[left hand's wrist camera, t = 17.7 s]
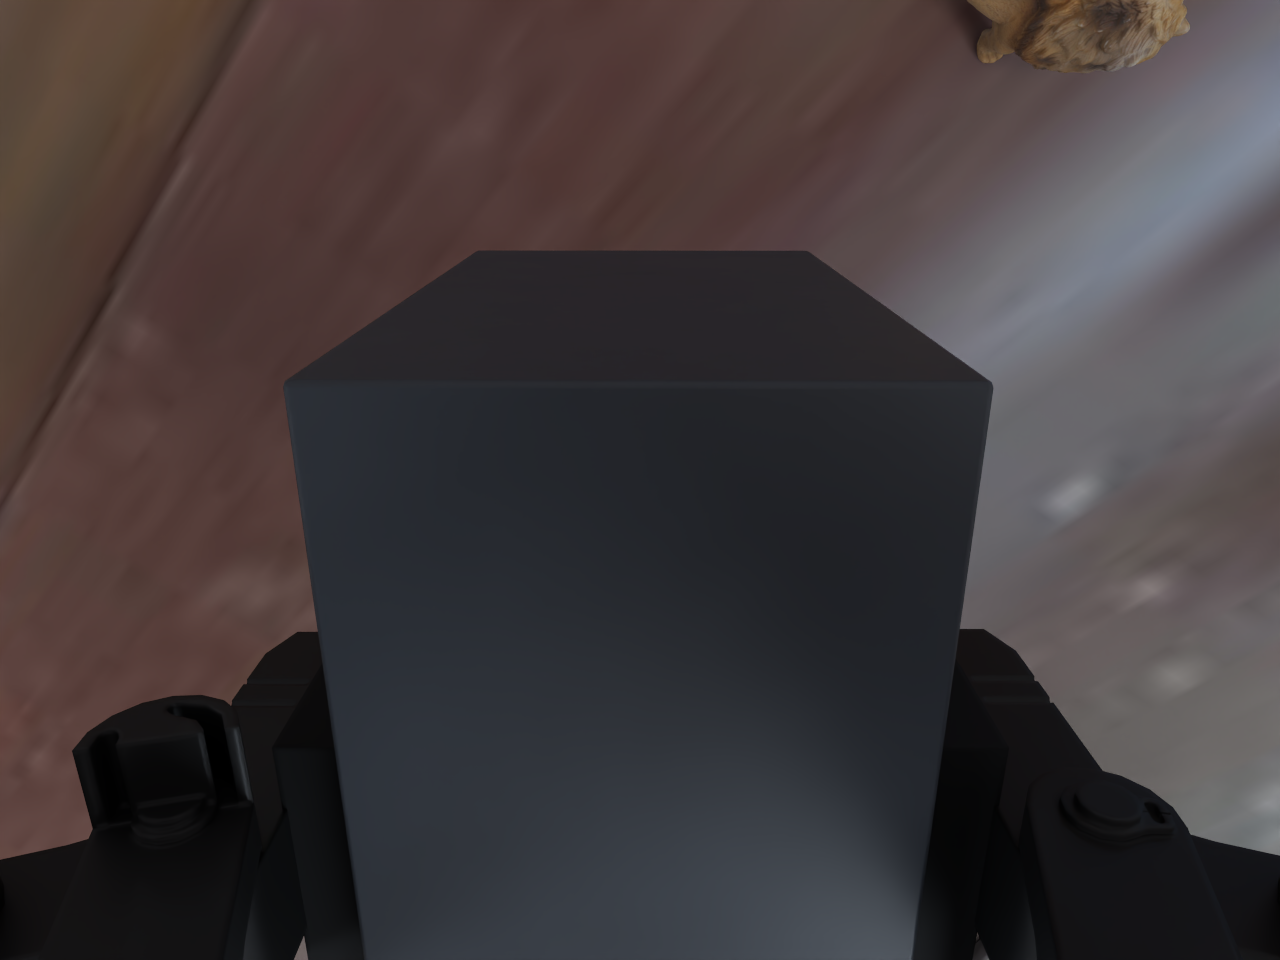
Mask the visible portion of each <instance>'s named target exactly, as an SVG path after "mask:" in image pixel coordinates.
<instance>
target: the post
mask: <svg viewBox="0 0 1280 960" xmlns="http://www.w3.org/2000/svg"><path fill="white" fill-rule="evenodd" d="M283 388H284V395H285V402H286V409H287V416H288V423H289V430H290V437H291V444H292V451H293V459H294V466H295V473H296V480H297V487H298V494H299V501H300V508H301V515H302V522H303V529H304V536H305V543H306V551H307V558H308V565H309V572H310V579H311V586H312V593H313V600H314V607H315V614H316V621H317V628H318V635H319V643H320V650H321V657H322V664H323V671H324V678H325V685H326V692H327V699H328V706H329V713H330V720H331V727H332V735H333V742H334V749H335V756H336V763H337V770H338V777H339V784H340V791H341V798H342V805H343V812H344V819H345V826H346V834H347V841H348V848H349V855H350V862H351V869H352V876H353V883H354V890H355V897H356V904H357V911H358V918H359V926H360V933H361V940H362V947H363V954H364V960H913V958H914V951H915V944H916V936H917V929H918V922H919V915H920V908H921V901H922V894H923V886H924V879H925V872H926V865H927V858H928V851H929V844H930V836H931V829H932V822H933V815H934V808H935V801H936V794H937V786H938V779H939V772H940V765H941V758H942V751H943V744H944V736H945V729H946V722H947V715H948V708H949V701H950V694H951V686H952V679H953V672H954V665H955V658H956V651H957V644H958V636H959V629H960V622H961V615H962V608H963V601H964V594H965V586H966V579H967V572H968V565H969V558H970V551H971V544H972V537H973V529H974V522H975V515H976V508H977V501H978V494H979V487H980V479H981V472H982V465H983V458H984V451H985V444H986V437H987V429H988V422H989V415H990V408H991V401H992V394H993V385H992V382H990V381H989V380H988V379H986V378H985V377H983V376H982V375H981V374H979V373H978V372H976V371H975V370H974V369H972V368H971V367H969V366H968V365H967V364H965V363H964V362H962V361H961V360H960V359H958V358H957V357H955V356H954V355H953V354H951V353H950V352H948V351H947V350H946V349H944V348H943V347H941V346H940V345H939V344H937V343H936V342H934V341H933V340H932V339H930V338H929V337H927V336H926V335H925V334H923V333H922V332H920V331H919V330H918V329H916V328H915V327H913V326H912V325H911V324H909V323H908V322H906V321H905V320H904V319H902V318H901V317H899V316H898V315H897V314H895V313H894V312H892V311H891V310H890V309H888V308H887V307H885V306H884V305H883V304H881V303H880V302H878V301H877V300H876V299H874V298H873V297H871V296H870V295H869V294H867V293H866V292H864V291H863V290H862V289H860V288H859V287H857V286H856V285H855V284H853V283H852V282H850V281H849V280H847V279H846V278H845V277H843V276H842V275H840V274H839V273H838V272H836V271H835V270H833V269H832V268H831V267H829V266H828V265H826V264H825V263H824V262H822V261H821V260H819V259H818V258H817V257H815V256H814V255H812V254H811V253H810V252H808V251H477V252H475V253H474V254H472V255H471V256H469V257H468V258H466V259H465V260H463V261H462V262H460V263H459V264H457V265H456V266H454V267H453V268H451V269H450V270H448V271H447V272H446V273H444V274H443V275H441V276H440V277H438V278H437V279H435V280H434V281H432V282H431V283H429V284H428V285H426V286H425V287H423V288H422V289H420V290H419V291H417V292H416V293H414V294H413V295H412V296H410V297H409V298H407V299H406V300H404V301H403V302H401V303H400V304H398V305H397V306H395V307H394V308H392V309H391V310H389V311H388V312H386V313H385V314H383V315H382V316H380V317H379V318H378V319H376V320H375V321H373V322H372V323H370V324H369V325H367V326H366V327H364V328H363V329H361V330H360V331H358V332H357V333H355V334H354V335H352V336H351V337H349V338H348V339H347V340H345V341H344V342H342V343H341V344H339V345H338V346H336V347H335V348H333V349H332V350H330V351H329V352H327V353H326V354H324V355H323V356H321V357H320V358H318V359H317V360H315V361H314V362H313V363H311V364H310V365H308V366H307V367H305V368H304V369H302V370H301V371H299V372H298V373H296V374H295V375H293V376H292V377H290V378H289V379H287V380H286V381H285V383H284V386H283Z"/></svg>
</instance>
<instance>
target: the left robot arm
mask: <svg viewBox="0 0 1280 960" xmlns="http://www.w3.org/2000/svg"><path fill="white" fill-rule="evenodd" d="M72 752H73V756H74V760H75V764H76V767H77V771H78V775H79V779H80V782H81V786H82V790H83V794H84V797H85V801H86V805H87V809H88V812H89V816H90V820H91V824H92V827H93V830H92V832H91V835H90V837H89V839H87V840H84V841H80V842H77V843H73V844H70V845H66V846H61V847H57V848H52V849H48V850H43V851H38V852H34V853H29V854H25V855H20V856H16V857H11V858H7V859H2V860H0V960H294V958H295V955H296V953H297V951H298V948H299V946H300V943H301V941H302V939H303V936H304V937H305V943H306V949H307V955H308V960H364V954H363V947H362V940H361V933H360V926H359V918H358V911H357V904H356V897H355V890H354V883H353V876H352V869H351V862H350V855H349V848H348V841H347V834H346V826H345V819H344V812H343V805H342V798H341V791H340V784H339V777H338V770H337V763H336V756H335V749H334V742H333V735H332V727H331V720H330V713H329V706H328V699H327V692H326V685H325V678H324V671H323V664H322V657H321V650H320V643H319V635H318V632H297V633H295V634H294V635H292V636H291V637H289V638H288V639H287V640H285V641H284V642H282V643H281V644H279V645H278V646H276V647H275V648H273V649H272V650H270V651H269V652H267V653H266V654H265V655H264V657H263V658H262V659H261V661H260V662H259V664H258V665H257V666H256V668H255V669H254V671H253V672H252V673H251V675H250V676H249V678H248V679H247V684H244V685H243V686H242V687H241V689H240V690H239V692H238V693H237V694H236V696H235V697H234V698H233V700H232V706H230V705H229V704H228V703H227V702H226V701H224V700H221V699H216V698H212V697H208V696H204V695H188V696H171V697H167V698H162V699H158V700H154V701H149V702H145V703H141V704H139V705H136V706H134V707H132V708H129V709H127V710H124V711H122V712H120V713H117V714H115V715H112V716H111V717H109V718H108V719H106V720H105V721H103V722H102V723H100V724H99V725H98V726H96V727H95V728H93V729H92V730H90V731H89V732H87V733H86V735H85V736H84V737H83V738H82V740H81V741H80V742H79V743H78V744H77V746H76V747H75V748H74V749H73V750H72ZM977 932H978V934H979V937H980V939H981V942H982V944H983V946H984V949H985V951H986V954H987V956H988V958H989V960H1280V856H1279V855H1274V854H1269V853H1265V852H1260V851H1256V850H1251V849H1246V848H1242V847H1237V846H1233V845H1228V844H1224V843H1219V842H1215V841H1211V840H1208V839H1204V838H1201V837H1197V836H1194V835H1190V833H1189V831H1188V828H1187V827H1186V825H1185V824H1184V822H1183V821H1182V820H1181V818H1180V817H1179V815H1178V814H1177V812H1176V811H1175V810H1174V808H1173V807H1172V806H1170V805H1169V804H1168V803H1166V802H1165V801H1164V800H1163V799H1161V798H1160V797H1159V796H1157V795H1156V794H1155V793H1154V792H1152V791H1151V790H1150V789H1148V788H1145V787H1143V786H1141V785H1139V784H1137V783H1135V782H1133V781H1131V780H1129V779H1127V778H1124V777H1122V776H1120V775H1116V774H1112V773H1108V772H1104V771H1102V769H1101V768H1100V767H1099V765H1098V764H1097V763H1096V761H1095V760H1094V758H1093V757H1092V756H1091V754H1090V753H1089V751H1088V750H1087V749H1086V747H1085V746H1084V744H1083V743H1082V742H1081V740H1080V739H1079V738H1078V736H1077V735H1076V733H1075V732H1074V731H1073V729H1072V728H1071V726H1070V725H1069V724H1068V722H1067V721H1066V720H1065V718H1064V717H1063V715H1062V714H1061V713H1060V711H1059V710H1058V708H1057V707H1056V706H1055V704H1054V703H1050V701H1049V696H1048V695H1047V693H1046V692H1045V690H1044V689H1043V688H1042V686H1041V685H1040V684H1039V682H1038V681H1034V675H1033V674H1032V672H1031V671H1030V670H1029V668H1028V667H1027V666H1026V664H1025V663H1024V661H1023V660H1022V659H1021V657H1020V656H1019V654H1018V653H1017V652H1016V651H1015V650H1014V649H1012V648H1011V647H1009V646H1008V645H1006V644H1005V643H1004V642H1002V641H1001V640H999V639H998V638H996V637H995V636H993V635H992V634H990V633H989V632H987V631H986V630H984V629H959V636H958V644H957V651H956V658H955V665H954V672H953V679H952V686H951V694H950V701H949V708H948V715H947V722H946V729H945V736H944V744H943V751H942V758H941V765H940V772H939V779H938V786H937V794H936V801H935V808H934V815H933V822H932V829H931V836H930V844H929V851H928V858H927V865H926V872H925V879H924V886H923V894H922V901H921V908H920V915H919V922H918V929H917V936H916V944H915V951H914V958H913V960H972V959H973V954H974V948H975V942H976V936H977Z"/></svg>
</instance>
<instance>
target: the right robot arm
mask: <svg viewBox="0 0 1280 960" xmlns="http://www.w3.org/2000/svg"><path fill="white" fill-rule="evenodd" d="M972 960H989V958H988V956H987V954H986V951H985V949H984V946H983V944H982V942H981V939H980V940H979V941H978V942H977V943H976V944H975V948H974V954H973V959H972Z"/></svg>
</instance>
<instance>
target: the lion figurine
mask: <svg viewBox="0 0 1280 960" xmlns="http://www.w3.org/2000/svg"><path fill="white" fill-rule="evenodd" d="M967 1H968V2H969V3H970V4H972V5H973V6H974V7H975V8H976V9H977V10H978V11H980V12H981V13H982V14H984V15H985V16H986V17H988V18H989V19H991V20H992V29H985V30H983V31H982V34H981V36H980V38H979V40H978V43H977V56H978V58H979V60H980V61H981V62H983V63H994V62H995V61H997V60H999V59H1000V58H1001V57H1002V56H1003V54H1010V53H1013V52H1015V53H1016V55H1018V56H1019V57H1021V59H1022V60H1024V61H1025V62H1027V63H1030V64H1031V65H1032V66H1033V67H1034V68H1035V69H1048V70H1050V71H1058V72H1064V73H1067V72H1080V73H1090V72H1093V71H1095V70H1099V71H1107V72H1112V71H1116V70H1119V69H1120V68H1122V67H1131V66H1134V65H1135V64H1136V65H1137V64H1139V63H1141V62H1143V61H1145V60H1147V59H1152V58H1153V57H1154V56H1155V55H1156V54H1157V53H1158V52H1159V50H1160V48H1161V46H1163V45H1164V44H1165V43H1166V42H1167V41H1168V40H1169V39H1170V38H1171V37H1174V36H1180V35H1183V34H1185V33H1187V32H1188V31H1189V29H1190V24H1189V23H1188V21H1187V20H1186V18H1185V15H1186V13H1187V8H1186V7H1185V6H1184V4H1183V0H967Z"/></svg>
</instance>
